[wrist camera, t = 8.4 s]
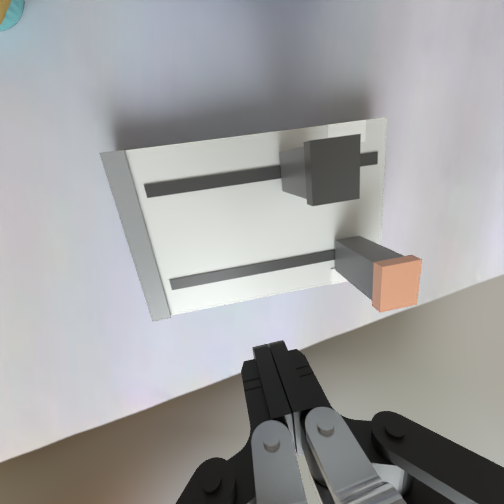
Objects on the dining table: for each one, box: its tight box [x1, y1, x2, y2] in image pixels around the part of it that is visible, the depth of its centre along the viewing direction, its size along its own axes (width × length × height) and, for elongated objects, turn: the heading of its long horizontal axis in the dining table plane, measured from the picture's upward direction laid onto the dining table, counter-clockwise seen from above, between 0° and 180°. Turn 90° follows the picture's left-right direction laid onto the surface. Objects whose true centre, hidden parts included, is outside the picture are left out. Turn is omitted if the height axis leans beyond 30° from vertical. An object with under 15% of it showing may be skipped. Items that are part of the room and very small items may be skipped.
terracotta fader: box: [335, 236, 422, 312], centre depth 20 cm, size 3×3×7 cm
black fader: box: [279, 134, 361, 206], centre depth 17 cm, size 3×3×7 cm
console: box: [100, 117, 387, 321], centre depth 23 cm, size 14×22×3 cm, turn 97°
